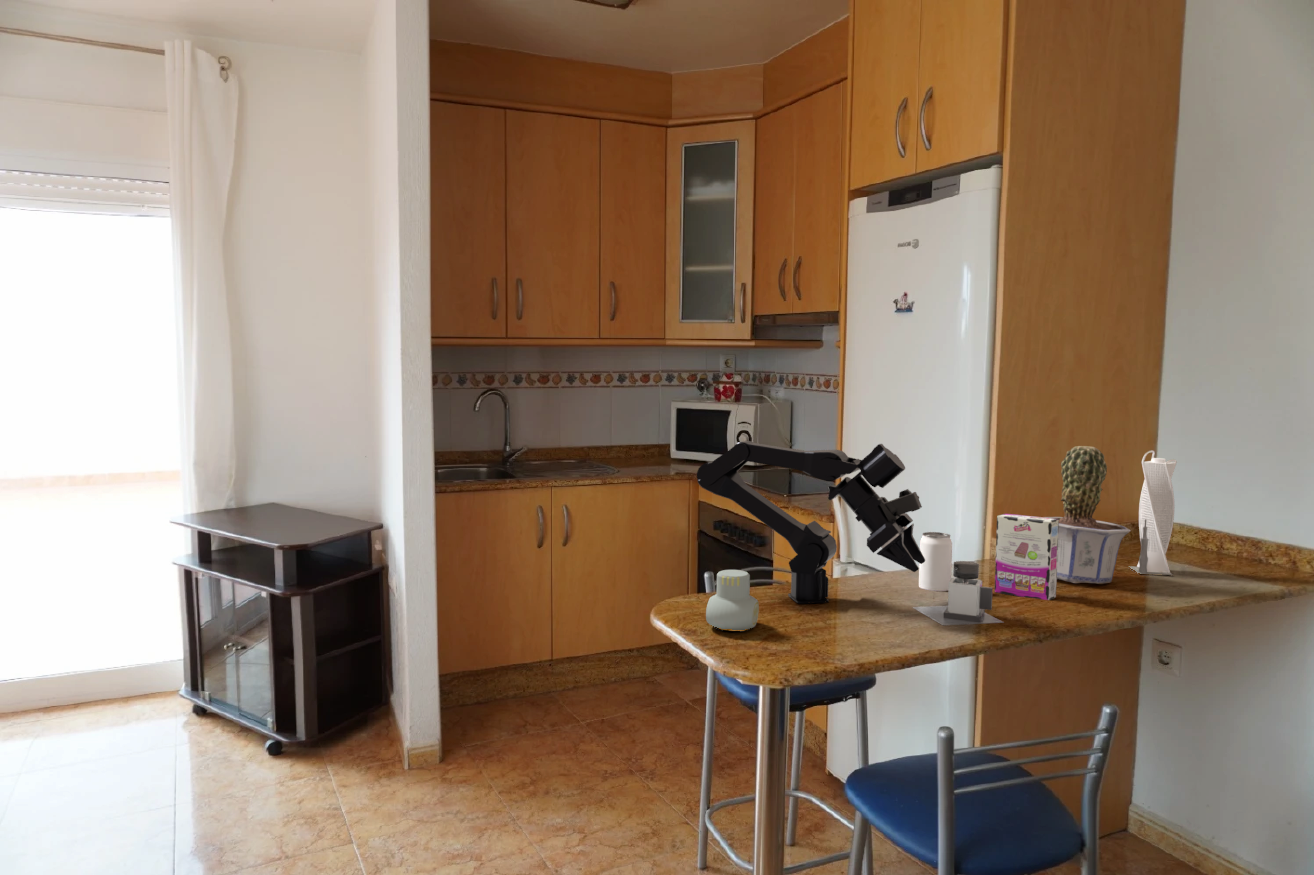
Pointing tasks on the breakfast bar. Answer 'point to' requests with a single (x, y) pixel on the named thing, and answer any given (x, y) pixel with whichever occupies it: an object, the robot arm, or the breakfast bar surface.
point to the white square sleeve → (968, 600)
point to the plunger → (965, 570)
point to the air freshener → (732, 602)
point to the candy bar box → (1026, 556)
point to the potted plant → (1085, 521)
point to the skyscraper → (1155, 515)
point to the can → (935, 561)
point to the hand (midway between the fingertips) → (920, 566)
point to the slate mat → (938, 616)
